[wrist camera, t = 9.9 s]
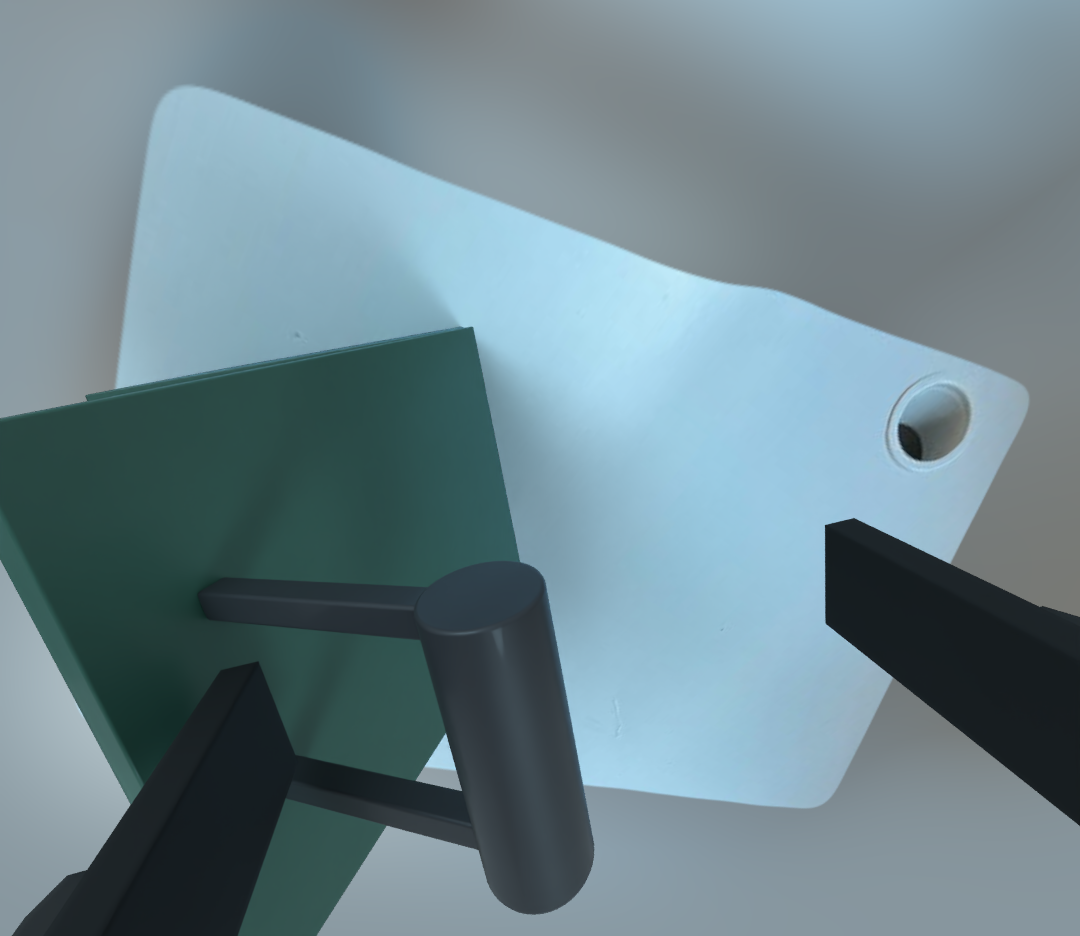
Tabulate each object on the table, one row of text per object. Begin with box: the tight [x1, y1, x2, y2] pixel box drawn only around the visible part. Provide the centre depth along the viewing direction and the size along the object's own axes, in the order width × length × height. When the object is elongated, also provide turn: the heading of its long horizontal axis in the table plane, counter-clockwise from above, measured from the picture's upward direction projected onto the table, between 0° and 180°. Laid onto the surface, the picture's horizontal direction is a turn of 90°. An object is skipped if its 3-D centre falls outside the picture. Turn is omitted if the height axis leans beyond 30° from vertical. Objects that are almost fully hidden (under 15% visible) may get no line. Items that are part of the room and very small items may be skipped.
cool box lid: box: [0, 327, 594, 936], centre depth 16 cm, size 17×14×8 cm
